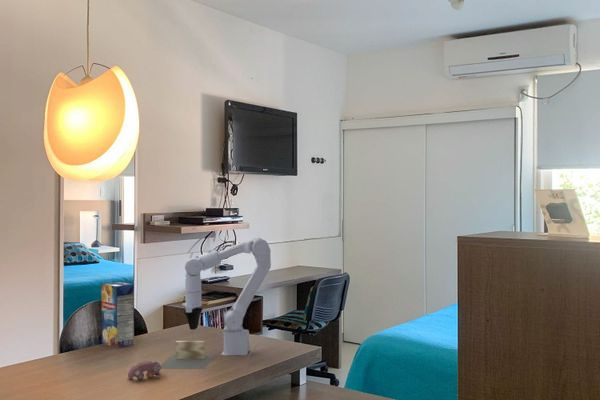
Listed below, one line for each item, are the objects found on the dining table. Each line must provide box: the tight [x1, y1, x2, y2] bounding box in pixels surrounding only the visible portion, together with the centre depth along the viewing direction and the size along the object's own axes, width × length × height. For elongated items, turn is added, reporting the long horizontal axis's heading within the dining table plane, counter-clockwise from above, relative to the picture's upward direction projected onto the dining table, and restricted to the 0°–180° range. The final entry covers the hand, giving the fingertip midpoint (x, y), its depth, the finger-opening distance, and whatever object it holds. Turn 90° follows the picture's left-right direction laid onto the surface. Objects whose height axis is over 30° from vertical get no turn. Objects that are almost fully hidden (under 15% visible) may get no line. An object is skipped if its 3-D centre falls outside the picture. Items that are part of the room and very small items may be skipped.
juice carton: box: [101, 281, 135, 349], centre depth 230 cm, size 12×8×24 cm, turn 47°
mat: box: [160, 354, 216, 370], centre depth 201 cm, size 16×18×1 cm
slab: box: [175, 340, 206, 359], centre depth 205 cm, size 10×2×6 cm, turn 87°
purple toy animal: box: [127, 360, 162, 380], centre depth 183 cm, size 10×5×7 cm, turn 122°
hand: (193, 328), depth 210 cm, fingers closed
